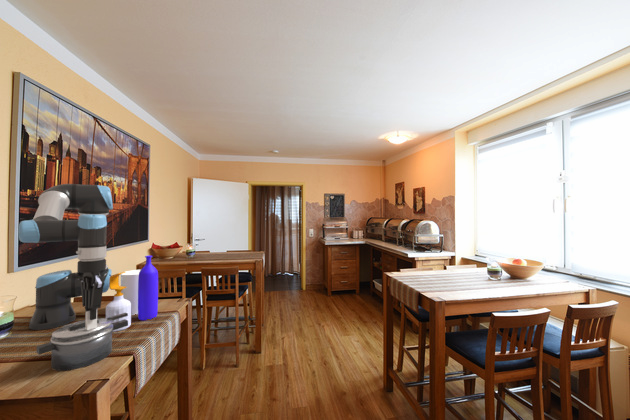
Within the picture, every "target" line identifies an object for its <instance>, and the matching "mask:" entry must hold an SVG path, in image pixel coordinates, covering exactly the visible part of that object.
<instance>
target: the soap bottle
mask: <svg viewBox="0 0 630 420" xmlns="http://www.w3.org/2000/svg"><path fill="white" fill-rule="evenodd" d="M123 273H126V271H123V272H119V273H115V274H113V275H112V274H111V276H110V278H109V289H110V290H113V291H114V292H116V293H115V294H114V295H113V300H112V301H110V302H109V303H108V304H107V305H106V306H105V318H109V317H112V316H116V315H119V314H123V313H128V316H126V317H122V318H119V319H116V320H112V323H115V322H118V321H121V320H124V319H125V320H128V326H125V327H122V328H119V329H116V330H113V331H112V333H113V332H120V331H123V330H126V329H127V328H129V327H131V324H132V315H131V303H130V301H128V300H126V299H124V298H123V293H121V291H122V290H123V289H124V288H126V287H124V286H121V285H120V284H119V283H120V281H119V278H120V276H121V274H123Z"/></svg>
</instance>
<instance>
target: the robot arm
mask: <svg viewBox="0 0 630 420" xmlns="http://www.w3.org/2000/svg"><path fill="white" fill-rule="evenodd" d="M111 192H112V191H111V189H110V187H109V186H107V185H98V184H79V183H77V184H76V183H63V184H57V185H54V186H52V187H49V188H47V189H45V190H44V191H43V192H41V194H39V197H38V199H37V202H38V207H37V209H36V211H35V214H34V217H33V219H29V220H22V221H20V222H19V225H18V240H19V241H20V242H22V243H23V244H24V243H34V244H38V243H52V242H73V241H74V242H75V241H76V242H77V250H76V251H75V253H76V254H77V260H78V262H77V265H76V266H77V271H76V272H72V270H71V269H64V270H63V269H62V270H58V271H53V272H49V273H45V274H41V275H40V276H38V277H37V278H36V282H35V287H34V289H35V308H34V309H35V310H34V312H33V315H32V317H31V318H30V321H29V327H28V329H29V330H32V331H42V330H43V331H44V330H49V329H53V328H55V329H56V328H58V327H63V326H64V325H68V324H71V323H72V322H74V321H75V320H76V318H77V316H76V311H75V310H74V308H73V305H72V298H79V297H81V300H82V301H81V303H82V307H84V311H85V329H86V330H90V329H93V328H97V319H98V309H100V308H101V306H102V299H103V294H104V293H106V292H108V290H109V289H110V287H109V278H110V276H112V269H111V268H109V265H107V259H106V258H107V227H108V226H107V225H108V222H107V215H109V214H110V211H112V210H113V209H114V206H113V197H112V193H111ZM65 210H77V213H78V215H79V216H78V219H63V218H64V215H65Z"/></svg>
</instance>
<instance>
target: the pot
mask: <svg viewBox="0 0 630 420" xmlns="http://www.w3.org/2000/svg"><path fill="white" fill-rule="evenodd" d="M125 326H128V320H125V319H124V320H121V321H118V322H115V323H112V324H111V325H110V326H108V327H106V328H104V329H102V330H99V331H96V332H93V333H90V334H86V335H82V336H78V337H72V338H65V339H55V338H52V336H51V337H50V342H46V343H43V344H40V345H36V354H38V355H42V354H45V353H49V352H51V361H50V363H51V365H50V366H51V367H50V368H51V369H52V370H54V371H58V372H59V371H60V372H62V371H63V372H67V371H73V370H78V369H82V368H86V367H89V366H91V365H93V364H97V363H99V362H101V361H102V360H104V359H106V358H107V357H108V356H110V355H111V353H112V351H113V332H112V331H113V330H116V329H119V328H122V327H125ZM109 354H110V355H109Z"/></svg>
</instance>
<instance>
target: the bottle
mask: <svg viewBox="0 0 630 420" xmlns="http://www.w3.org/2000/svg"><path fill="white" fill-rule="evenodd" d="M144 258H145V264H144V266H143V267H142V268H141V271H140V272H139V278H138V314H137V318H138V320H140V321H148V320H147V319H150V320H153V319H155V318H157V316H158V312H159V311H158V310H159V309H158V307H159V305H158V304H159V272H158V269H157V268H156V267H155V266H154V265H153V264H152V258H153V255H145V256H144ZM154 317H155V318H154ZM152 318H153V319H152Z"/></svg>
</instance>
